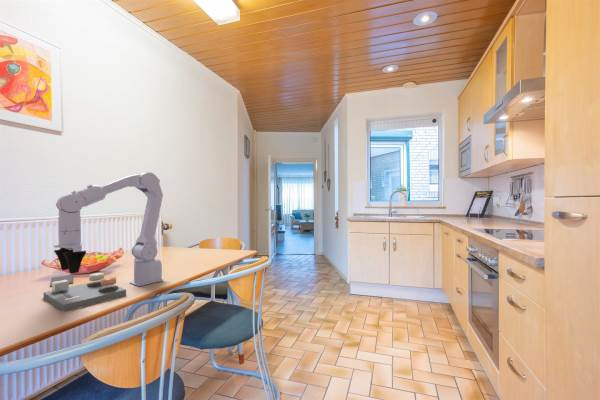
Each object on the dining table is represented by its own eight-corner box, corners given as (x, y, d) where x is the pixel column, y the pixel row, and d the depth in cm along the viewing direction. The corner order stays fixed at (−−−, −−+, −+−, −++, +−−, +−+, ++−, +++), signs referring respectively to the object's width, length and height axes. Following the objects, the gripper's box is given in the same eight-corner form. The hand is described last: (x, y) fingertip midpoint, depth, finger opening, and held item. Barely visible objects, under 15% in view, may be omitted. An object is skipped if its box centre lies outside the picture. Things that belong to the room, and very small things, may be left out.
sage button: (101, 276, 103) (101, 272, 103) (106, 278, 100) (106, 273, 100) (87, 279, 99) (87, 274, 99) (92, 281, 96) (92, 276, 96)
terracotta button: (112, 281, 97) (112, 276, 97) (118, 283, 94) (118, 278, 94) (98, 284, 93) (98, 279, 93) (103, 286, 91) (103, 281, 91)
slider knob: (65, 288, 94) (65, 279, 94) (68, 289, 93) (68, 281, 93) (52, 291, 91) (52, 282, 91) (54, 292, 90) (54, 283, 90)
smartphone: (49, 286, 103) (51, 277, 114) (49, 288, 103) (51, 279, 114) (73, 282, 107) (73, 274, 119) (73, 285, 107) (73, 276, 119)
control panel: (102, 285, 105) (102, 278, 105) (126, 295, 94) (126, 287, 94) (43, 298, 91) (43, 290, 91) (63, 311, 80) (63, 303, 80)
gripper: (47, 230, 91) (47, 270, 91) (61, 233, 83) (62, 277, 83) (73, 228, 97) (73, 266, 97) (89, 231, 89) (89, 272, 89)
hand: (70, 271), depth 90 cm, fingers open, 7 cm apart
